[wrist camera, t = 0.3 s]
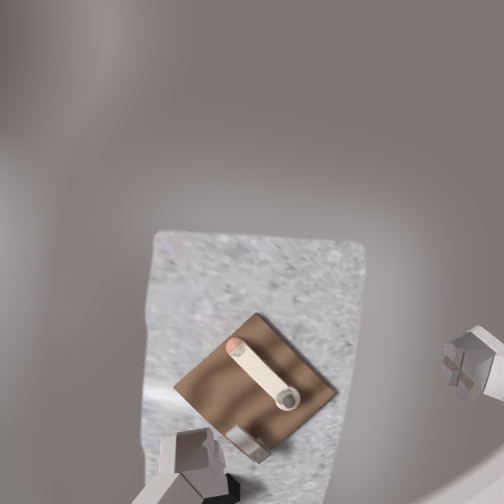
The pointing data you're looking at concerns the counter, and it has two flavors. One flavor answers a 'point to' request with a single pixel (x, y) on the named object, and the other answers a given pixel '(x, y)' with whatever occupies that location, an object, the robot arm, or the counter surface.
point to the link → (261, 372)
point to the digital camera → (226, 501)
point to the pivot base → (253, 392)
